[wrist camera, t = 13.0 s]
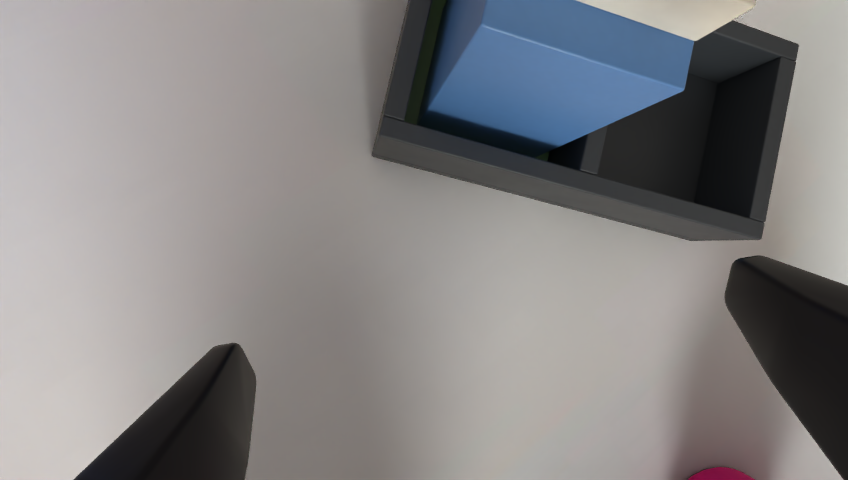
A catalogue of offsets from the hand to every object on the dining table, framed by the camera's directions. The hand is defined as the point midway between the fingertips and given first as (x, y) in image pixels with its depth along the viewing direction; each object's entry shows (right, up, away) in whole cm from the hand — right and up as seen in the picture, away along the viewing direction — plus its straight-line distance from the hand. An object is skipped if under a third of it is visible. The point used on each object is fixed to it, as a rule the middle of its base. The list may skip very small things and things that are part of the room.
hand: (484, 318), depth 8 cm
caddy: (+6, +8, +14) cm, 17 cm away
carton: (+2, +9, +13) cm, 15 cm away
